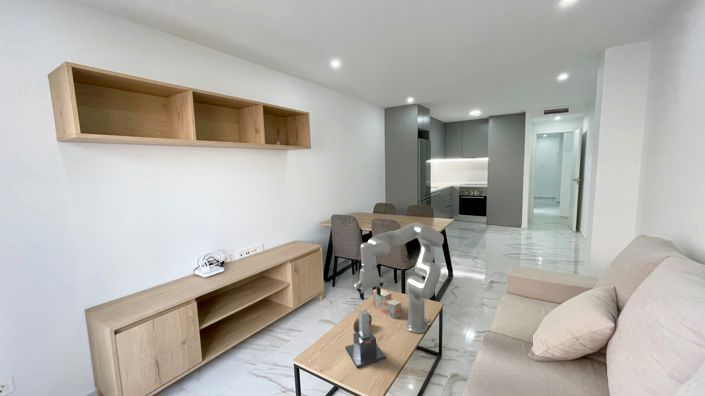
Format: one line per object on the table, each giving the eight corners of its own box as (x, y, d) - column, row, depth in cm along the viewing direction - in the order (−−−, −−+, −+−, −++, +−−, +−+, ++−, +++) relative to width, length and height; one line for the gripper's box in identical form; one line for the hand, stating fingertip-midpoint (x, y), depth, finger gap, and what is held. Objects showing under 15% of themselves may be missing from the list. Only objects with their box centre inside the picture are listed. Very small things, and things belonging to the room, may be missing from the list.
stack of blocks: (401, 316, 186) (401, 298, 184) (394, 319, 182) (394, 300, 181) (379, 304, 203) (379, 287, 202) (373, 306, 199) (372, 289, 198)
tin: (357, 336, 165) (356, 322, 164) (352, 334, 167) (352, 321, 166) (372, 325, 176) (371, 312, 175) (368, 323, 178) (367, 310, 177)
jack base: (372, 341, 160) (371, 324, 158) (385, 358, 145) (385, 340, 144) (345, 349, 154) (344, 331, 153) (356, 368, 139) (356, 348, 138)
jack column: (366, 338, 151) (365, 309, 149) (370, 342, 147) (369, 313, 146) (359, 340, 150) (358, 311, 148) (362, 344, 146) (361, 315, 144)
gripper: (379, 261, 156) (381, 290, 159) (350, 267, 150) (352, 298, 152) (386, 265, 150) (388, 296, 152) (356, 271, 143) (358, 304, 145)
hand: (370, 297), depth 152 cm, fingers open, 9 cm apart
